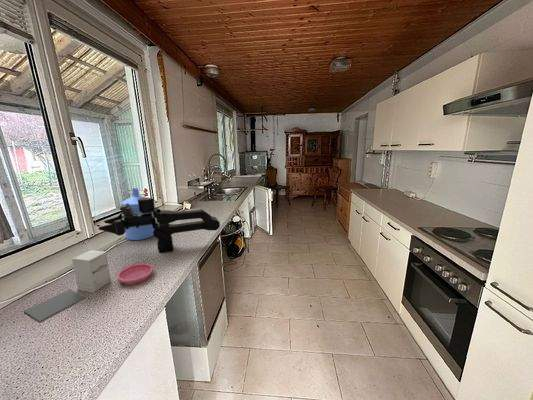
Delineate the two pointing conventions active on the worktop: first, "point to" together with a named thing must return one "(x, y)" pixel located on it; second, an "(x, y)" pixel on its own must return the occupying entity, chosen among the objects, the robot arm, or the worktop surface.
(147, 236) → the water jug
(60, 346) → the worktop surface
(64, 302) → the dark rubber mat
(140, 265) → the saucer
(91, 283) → the supplement box
